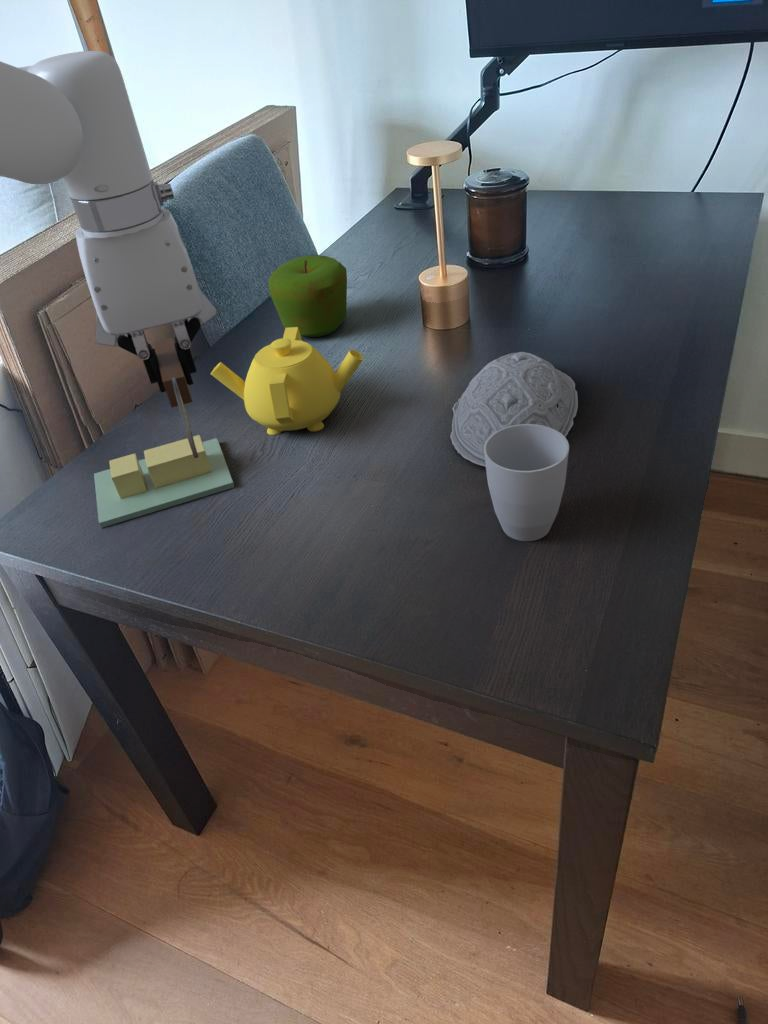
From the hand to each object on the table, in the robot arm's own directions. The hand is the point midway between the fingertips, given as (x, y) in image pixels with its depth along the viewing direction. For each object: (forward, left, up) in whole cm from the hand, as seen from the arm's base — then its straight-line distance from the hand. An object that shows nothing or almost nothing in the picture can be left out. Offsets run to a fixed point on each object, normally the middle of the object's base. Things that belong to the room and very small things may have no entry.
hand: (175, 381), depth 82 cm
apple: (+24, +36, -15) cm, 46 cm away
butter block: (-3, +5, -14) cm, 15 cm away
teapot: (+14, +11, -15) cm, 23 cm away
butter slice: (-9, +5, -14) cm, 18 cm away
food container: (+39, -3, -15) cm, 42 cm away
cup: (+30, -23, -15) cm, 41 cm away
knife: (0, -5, 0) cm, 5 cm away
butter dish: (-5, +5, -15) cm, 17 cm away
